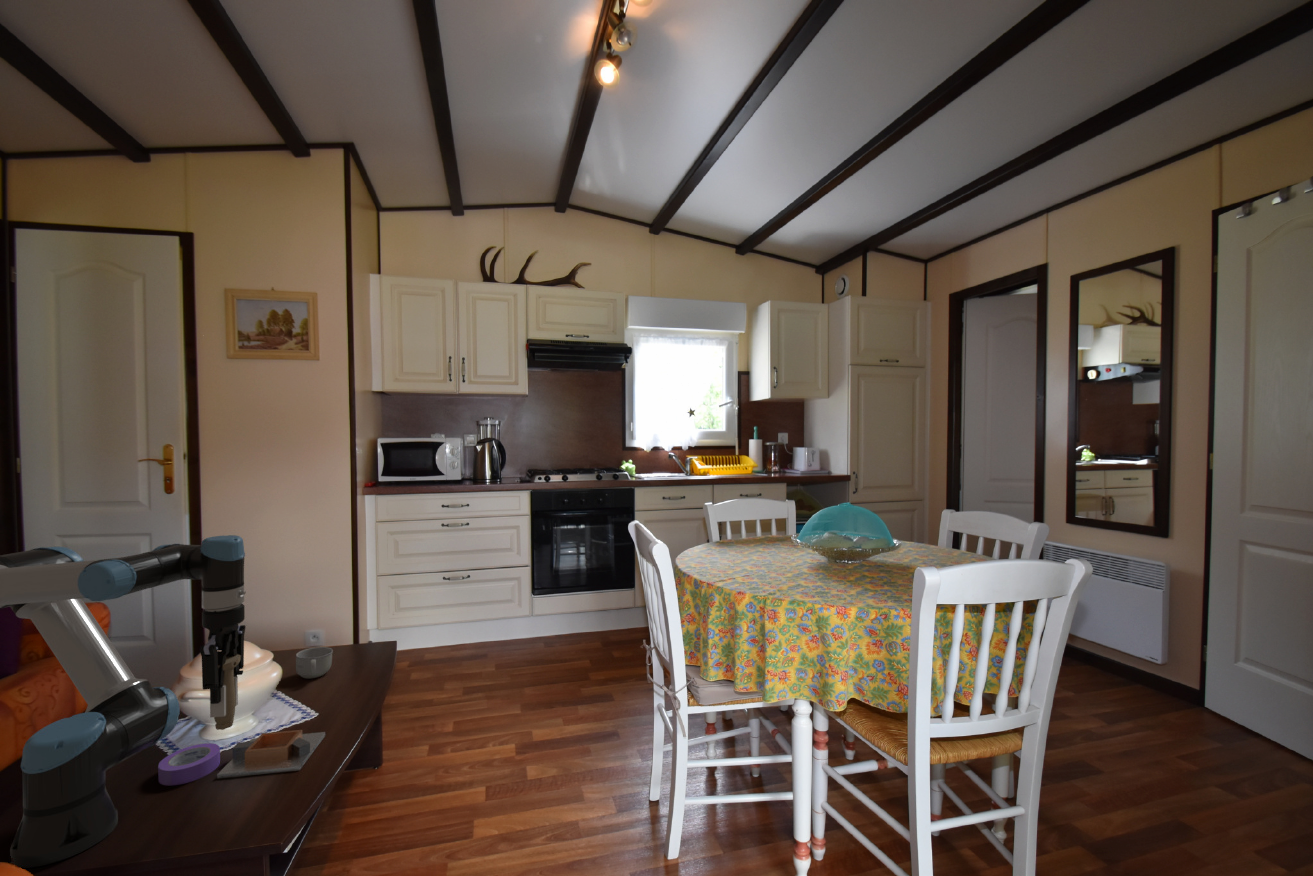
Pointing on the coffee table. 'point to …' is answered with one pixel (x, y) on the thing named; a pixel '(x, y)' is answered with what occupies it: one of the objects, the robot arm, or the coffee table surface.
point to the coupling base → (271, 753)
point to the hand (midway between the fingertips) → (224, 710)
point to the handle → (228, 693)
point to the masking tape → (189, 764)
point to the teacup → (313, 662)
